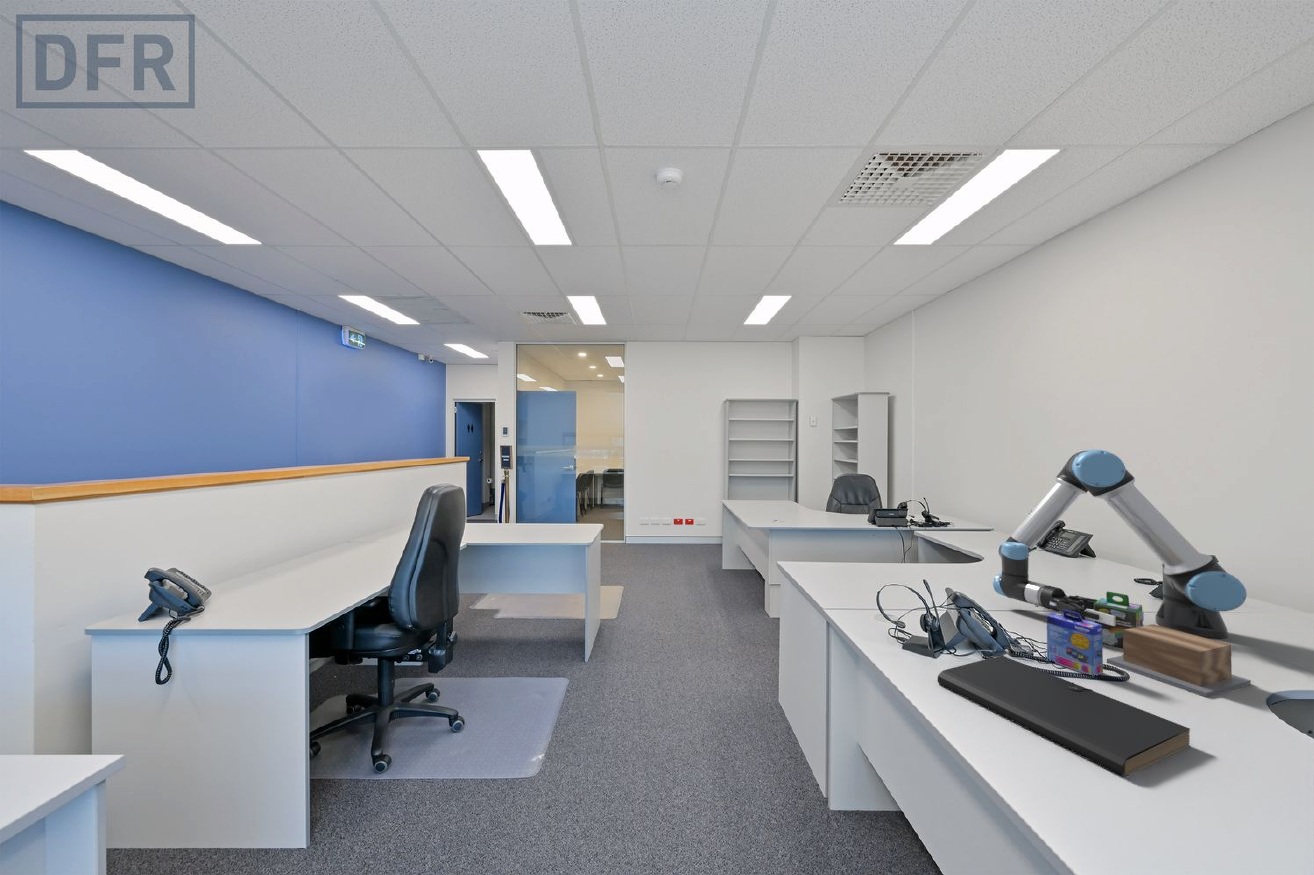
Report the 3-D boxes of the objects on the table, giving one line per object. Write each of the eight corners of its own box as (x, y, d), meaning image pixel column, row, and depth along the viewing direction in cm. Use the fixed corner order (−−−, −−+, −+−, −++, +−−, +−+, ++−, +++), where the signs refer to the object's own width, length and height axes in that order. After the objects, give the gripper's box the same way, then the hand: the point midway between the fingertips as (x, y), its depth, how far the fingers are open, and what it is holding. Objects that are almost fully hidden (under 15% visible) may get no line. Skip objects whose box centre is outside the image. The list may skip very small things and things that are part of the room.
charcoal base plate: (1150, 653, 128) (1150, 649, 129) (1250, 684, 112) (1250, 680, 112) (1106, 662, 122) (1106, 658, 122) (1206, 697, 105) (1205, 692, 105)
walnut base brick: (1154, 653, 126) (1153, 624, 126) (1231, 677, 112) (1231, 644, 113) (1123, 660, 121) (1123, 629, 121) (1200, 686, 108) (1199, 651, 108)
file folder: (1191, 726, 87) (1122, 758, 78) (1191, 748, 87) (1122, 783, 78) (1002, 653, 117) (937, 670, 108) (1003, 670, 117) (937, 688, 108)
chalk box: (1144, 645, 134) (1143, 594, 134) (1138, 652, 129) (1137, 599, 129) (1100, 634, 142) (1100, 586, 142) (1093, 641, 136) (1093, 590, 137)
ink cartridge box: (1045, 661, 122) (1045, 605, 122) (1055, 657, 125) (1055, 603, 125) (1093, 677, 113) (1093, 618, 114) (1103, 673, 116) (1103, 615, 116)
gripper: (1070, 604, 157) (1154, 627, 137) (1020, 611, 149) (1102, 636, 129) (1070, 582, 157) (1154, 601, 137) (1020, 588, 149) (1102, 609, 129)
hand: (1129, 618), depth 133 cm, fingers open, 13 cm apart
